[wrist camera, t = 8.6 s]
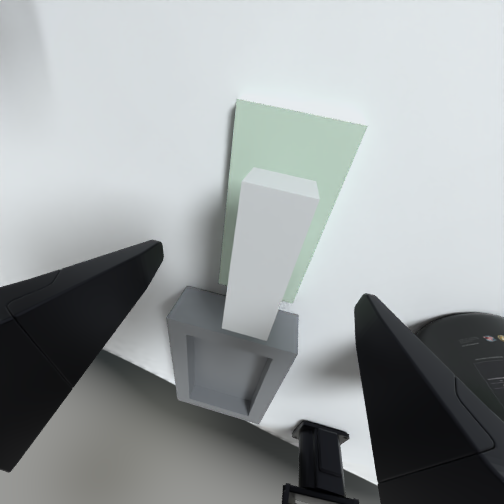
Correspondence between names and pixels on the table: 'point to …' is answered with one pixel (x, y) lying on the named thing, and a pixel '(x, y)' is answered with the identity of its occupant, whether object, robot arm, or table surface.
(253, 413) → the case
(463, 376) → the supplement bottle
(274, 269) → the cover
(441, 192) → the table surface
